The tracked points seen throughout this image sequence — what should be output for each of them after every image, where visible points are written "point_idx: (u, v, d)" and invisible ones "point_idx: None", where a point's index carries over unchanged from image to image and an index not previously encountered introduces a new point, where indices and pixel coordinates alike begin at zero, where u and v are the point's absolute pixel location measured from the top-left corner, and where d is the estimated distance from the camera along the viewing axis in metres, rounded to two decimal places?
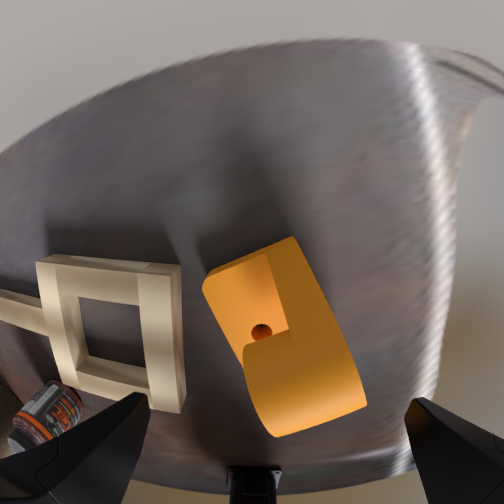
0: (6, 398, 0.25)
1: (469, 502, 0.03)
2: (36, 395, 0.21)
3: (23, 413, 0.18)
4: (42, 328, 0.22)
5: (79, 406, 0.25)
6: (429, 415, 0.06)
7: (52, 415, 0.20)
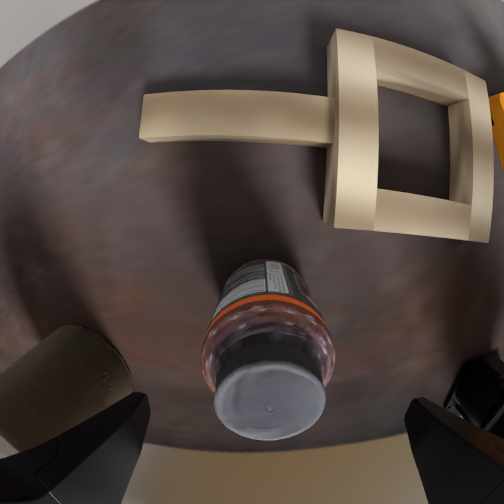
0: (89, 346, 0.19)
1: (469, 502, 0.03)
2: (248, 276, 0.15)
3: (261, 296, 0.12)
4: (306, 128, 0.15)
5: None
6: (429, 415, 0.06)
7: (311, 298, 0.14)
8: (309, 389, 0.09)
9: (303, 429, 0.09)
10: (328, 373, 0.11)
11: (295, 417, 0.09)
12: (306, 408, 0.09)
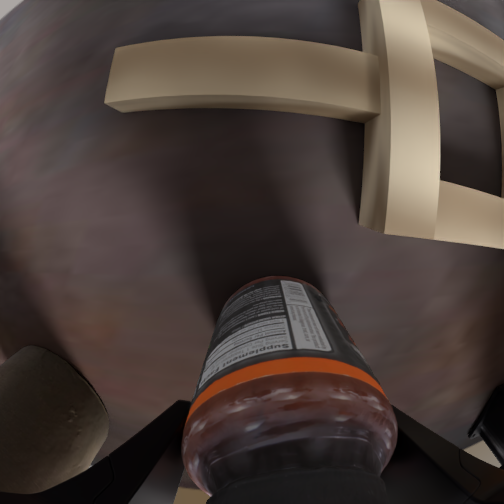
0: (52, 376, 0.13)
1: None
2: (257, 308, 0.10)
3: (286, 362, 0.06)
4: (342, 90, 0.10)
5: None
6: None
7: (355, 345, 0.09)
8: None
9: None
10: (384, 466, 0.05)
11: None
12: None
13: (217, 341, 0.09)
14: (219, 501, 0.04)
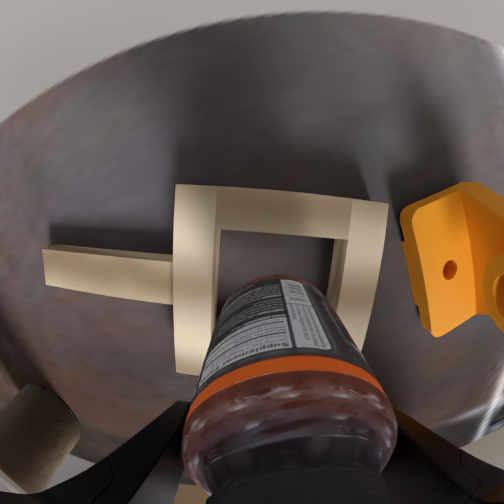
0: (46, 403, 0.22)
1: None
2: (257, 307, 0.10)
3: (286, 361, 0.06)
4: (153, 292, 0.19)
5: None
6: None
7: (354, 344, 0.09)
8: None
9: None
10: (384, 465, 0.05)
11: None
12: None
13: (217, 340, 0.09)
14: (219, 500, 0.04)
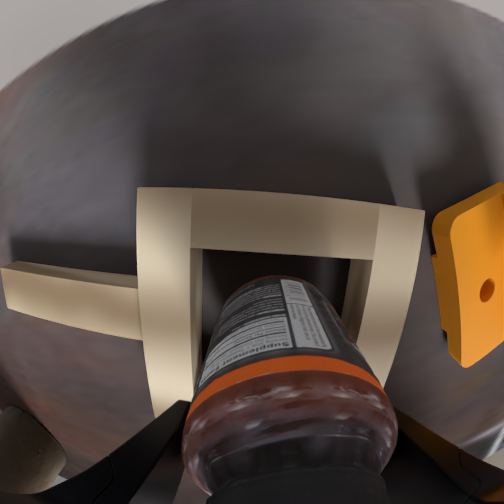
0: (27, 429, 0.17)
1: None
2: (257, 306, 0.10)
3: (286, 361, 0.06)
4: (120, 325, 0.14)
5: None
6: None
7: (355, 343, 0.09)
8: None
9: None
10: (385, 465, 0.05)
11: None
12: None
13: (217, 340, 0.09)
14: (219, 500, 0.04)
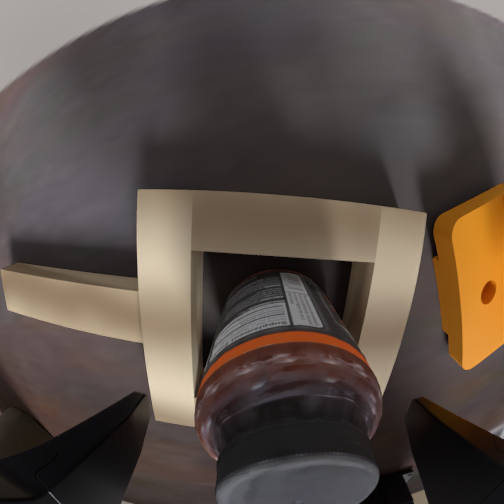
0: (27, 430, 0.17)
1: (469, 502, 0.03)
2: (259, 295, 0.11)
3: (285, 335, 0.08)
4: (120, 327, 0.14)
5: None
6: (429, 415, 0.06)
7: (345, 327, 0.10)
8: (360, 478, 0.04)
9: None
10: (372, 433, 0.07)
11: None
12: (350, 496, 0.05)
13: (224, 323, 0.11)
14: (229, 452, 0.05)
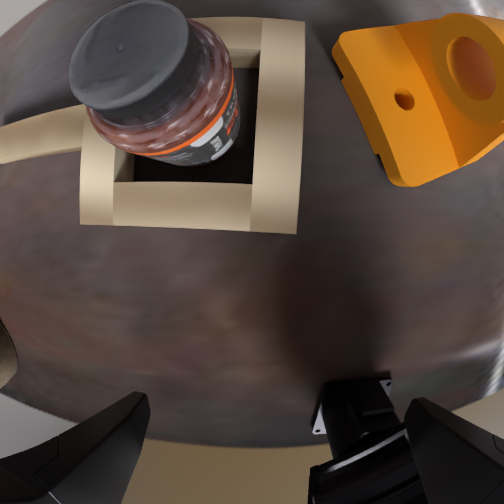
0: None
1: (469, 502, 0.03)
2: None
3: None
4: (71, 137, 0.15)
5: (240, 116, 0.16)
6: (429, 415, 0.06)
7: None
8: (166, 16, 0.06)
9: (159, 76, 0.06)
10: (219, 69, 0.08)
11: (148, 55, 0.06)
12: (162, 40, 0.06)
13: None
14: None
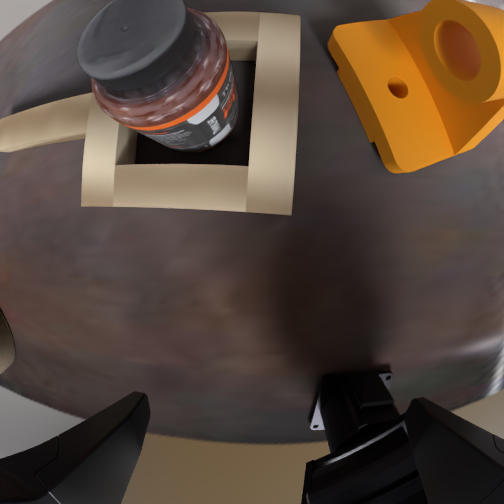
0: None
1: (469, 502, 0.03)
2: None
3: None
4: (76, 124, 0.15)
5: (238, 105, 0.16)
6: (429, 415, 0.06)
7: None
8: (167, 1, 0.06)
9: (158, 49, 0.06)
10: (214, 50, 0.08)
11: (149, 32, 0.06)
12: (162, 20, 0.06)
13: None
14: None
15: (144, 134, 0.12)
